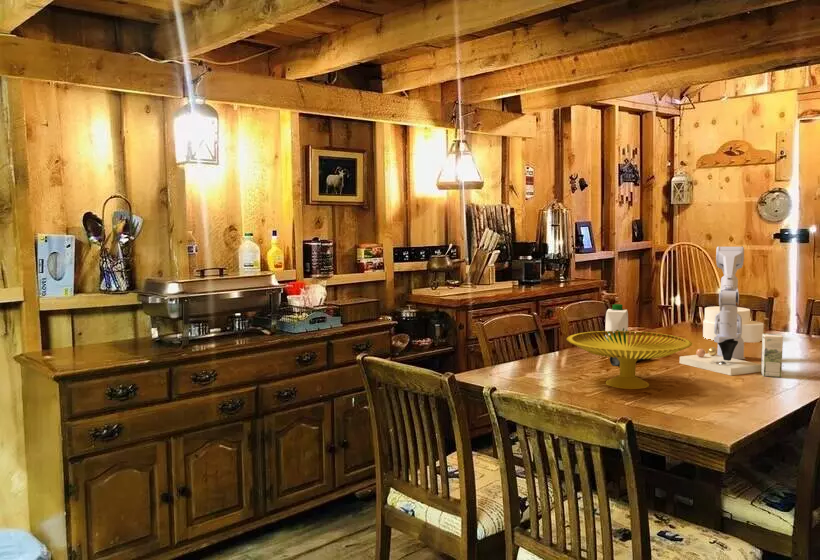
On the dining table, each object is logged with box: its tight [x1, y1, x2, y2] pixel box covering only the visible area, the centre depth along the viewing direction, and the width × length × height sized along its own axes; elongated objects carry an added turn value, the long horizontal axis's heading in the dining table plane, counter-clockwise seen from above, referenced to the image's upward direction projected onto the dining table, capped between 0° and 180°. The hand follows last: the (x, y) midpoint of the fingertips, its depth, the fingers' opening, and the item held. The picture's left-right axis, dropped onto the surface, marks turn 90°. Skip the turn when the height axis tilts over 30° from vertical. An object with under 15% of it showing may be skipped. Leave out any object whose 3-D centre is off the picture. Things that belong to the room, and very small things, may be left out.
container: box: [702, 305, 765, 343], centre depth 319 cm, size 20×25×14 cm
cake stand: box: [566, 330, 693, 390], centre depth 234 cm, size 40×40×15 cm
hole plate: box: [679, 352, 761, 376], centre depth 259 cm, size 15×24×2 cm, turn 23°
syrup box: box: [760, 333, 784, 378], centre depth 244 cm, size 6×6×14 cm
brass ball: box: [707, 346, 717, 356], centre depth 268 cm, size 3×3×3 cm
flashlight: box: [609, 357, 650, 367], centre depth 269 cm, size 5×21×5 cm, turn 125°
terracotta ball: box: [695, 348, 706, 357], centre depth 266 cm, size 3×3×3 cm
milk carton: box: [604, 303, 629, 344], centre depth 287 cm, size 9×9×20 cm
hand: (727, 360), depth 255 cm, fingers closed
